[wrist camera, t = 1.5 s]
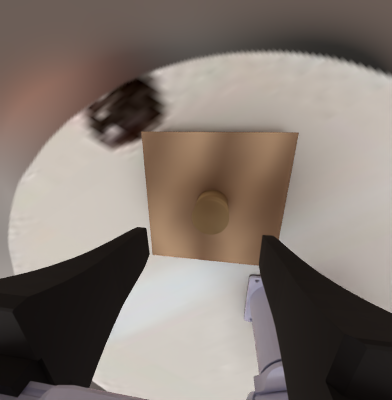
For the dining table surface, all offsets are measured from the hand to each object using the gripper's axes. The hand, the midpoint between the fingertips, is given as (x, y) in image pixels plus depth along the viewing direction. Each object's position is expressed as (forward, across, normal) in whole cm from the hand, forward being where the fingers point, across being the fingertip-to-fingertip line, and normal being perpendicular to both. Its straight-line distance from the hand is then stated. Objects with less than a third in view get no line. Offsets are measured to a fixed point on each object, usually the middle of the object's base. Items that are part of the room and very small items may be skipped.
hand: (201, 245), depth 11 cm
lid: (+8, 0, 0) cm, 8 cm away
